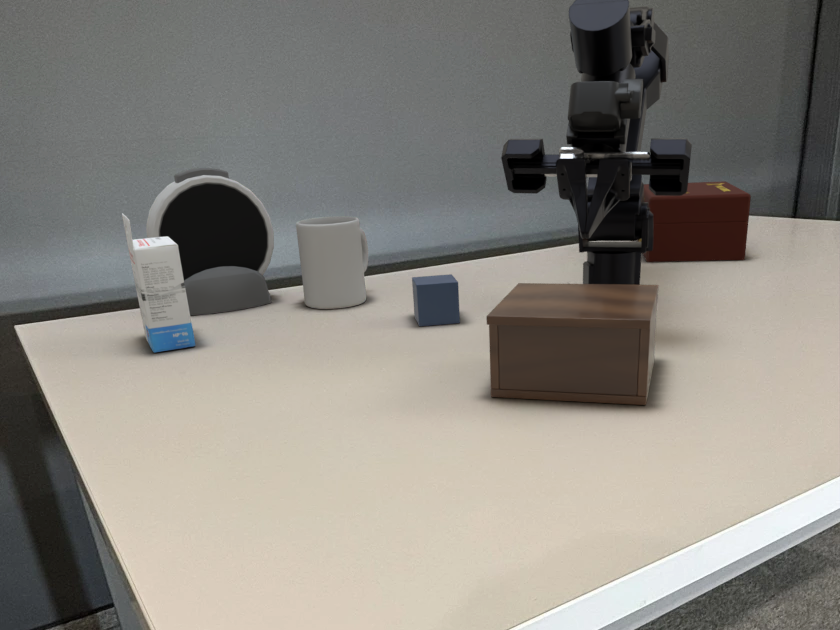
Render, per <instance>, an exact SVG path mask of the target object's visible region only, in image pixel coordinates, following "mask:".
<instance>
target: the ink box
mask: <svg viewBox="0 0 840 630" xmlns="http://www.w3.org/2000/svg"><path fill="white" fill-rule="evenodd" d="M121 216H122V218H121V219H122V223H123V229H124V233H125V238H126V244H127V249H128V254H129V259H130V264H131V269H132V275H133V281H134V285H135V290H136V296H137V301H138V305H139V311H140V315H141V320H142V325H143V330H144V336H145V340H146V341H147V343H148V346H149V347H150V349H151V351H152V353H161V352H168V351H174V350H180V349H186V348H194V347H196V340H195V339H196V338H195V334H194V328H193V322H192V317H191V315H190V312H189V306H188V301H187V295H186V290H185V284H184V278H183V273H182V267H181V261H180V255H179V249H178V245H177V244H176V243H175V242H174V241H173V240H171V239H170V238H169V237H168V236H166V237H154V238H147V237H145V238H136V239H133V234H132V229H131V220H130V219H129V218H128V216H127V215H126V214H124V213H123V212H122V213H121Z"/></svg>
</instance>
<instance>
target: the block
mask: <svg viewBox="0 0 840 630" xmlns="http://www.w3.org/2000/svg"><path fill="white" fill-rule="evenodd" d="M411 283H412V284H411V285H412V286H411V287H412V299H413V314H414V318H415V321H416V323H417V325H418V327H429V326H442V325H453V324H455V325H456V324H460V323H461V318H460V317H461V315H460V292H459V291H460V290H459V281H458V280H457V279H456V278H455V276H454V275H453V274H452V273H449V274H437V275H424V276H423V275H422V276H412V277H411Z"/></svg>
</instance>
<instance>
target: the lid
mask: <svg viewBox="0 0 840 630" xmlns="http://www.w3.org/2000/svg"><path fill="white" fill-rule="evenodd" d="M657 295H658V296H659V284H640V285H624V284H583V283H544V282H543V283H542V282H541V283H538V282H537V283H534V282H532V283H531V282H518V283H517V284H516V285H515V286H514V288H512V289H511V290H510V291H509V292H508V294H506V295H505V296H504V297H503V299H502V300H500V302H498V303H497V304H496V306H495V307H493V309H492V310H491V311H489V313H487V315H486V325H487V326H489V325H514V326H550V327H586V328H621V329H650V326H651V322H652V317H653V313H654V308H655V304H656V300H657Z"/></svg>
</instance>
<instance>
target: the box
mask: <svg viewBox="0 0 840 630" xmlns="http://www.w3.org/2000/svg"><path fill="white" fill-rule="evenodd" d="M643 184H644V202H648V203H649V208H650V211H651V213H652V214H653V217H654V238H653V251H646V253H642V256H643V258H644V259H645V262H648V263H661V262H664V263H665V262H705V261H713V262H714V261H744V260H746V251H747V241H748V240H747V239H748V229H749V222H750V221H749V220H750V219H749V218H750V211H751V209H750V208H751V198H752V196H751V194H750V193H748V192H747V191H745V190H742V189H741V188H739V187H738V186H736V185H734V184H731V183H729V182H728V181H725V180H723V181H698V182H695V181H694V182H688V187H687V193H685V194H683V195H682V196H663V195H655V194H654V193H652V192H651V191H650V190H649V183H643ZM636 242H641V239H640V240H636Z"/></svg>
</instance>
